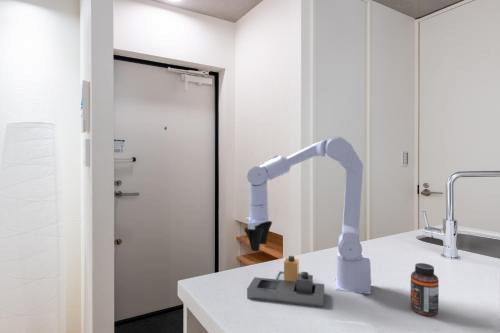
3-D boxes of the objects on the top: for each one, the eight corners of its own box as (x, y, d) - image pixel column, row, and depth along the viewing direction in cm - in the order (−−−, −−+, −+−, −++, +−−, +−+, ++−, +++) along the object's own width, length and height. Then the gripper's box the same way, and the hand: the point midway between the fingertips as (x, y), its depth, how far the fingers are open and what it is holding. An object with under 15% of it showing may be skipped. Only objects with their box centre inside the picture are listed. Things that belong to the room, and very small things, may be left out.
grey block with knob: (312, 296, 82) (312, 270, 82) (311, 303, 78) (311, 276, 78) (298, 295, 83) (298, 269, 83) (296, 302, 79) (296, 275, 79)
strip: (324, 294, 83) (324, 284, 83) (323, 308, 75) (323, 296, 75) (254, 287, 88) (254, 277, 88) (247, 299, 81) (247, 288, 81)
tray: (310, 276, 96) (310, 273, 96) (307, 290, 86) (307, 286, 86) (277, 273, 99) (277, 270, 99) (271, 286, 89) (271, 283, 89)
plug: (298, 278, 94) (298, 255, 94) (297, 283, 90) (297, 259, 90) (286, 276, 95) (285, 254, 95) (284, 281, 91) (284, 258, 91)
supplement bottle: (405, 305, 77) (405, 261, 76) (427, 304, 77) (427, 260, 77) (420, 318, 71) (420, 270, 70) (444, 316, 71) (444, 269, 71)
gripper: (254, 200, 103) (254, 240, 103) (238, 207, 89) (238, 252, 90) (274, 201, 100) (274, 241, 101) (260, 208, 87) (261, 254, 87)
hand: (259, 247), depth 95 cm, fingers open, 7 cm apart
